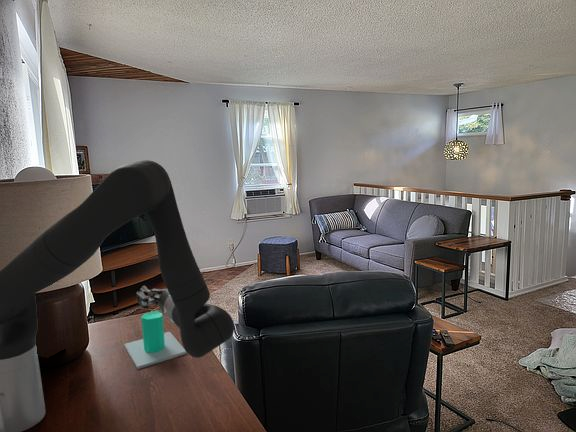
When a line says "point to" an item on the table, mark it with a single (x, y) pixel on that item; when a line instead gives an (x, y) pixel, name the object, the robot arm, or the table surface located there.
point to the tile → (147, 359)
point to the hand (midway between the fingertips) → (159, 286)
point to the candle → (153, 331)
